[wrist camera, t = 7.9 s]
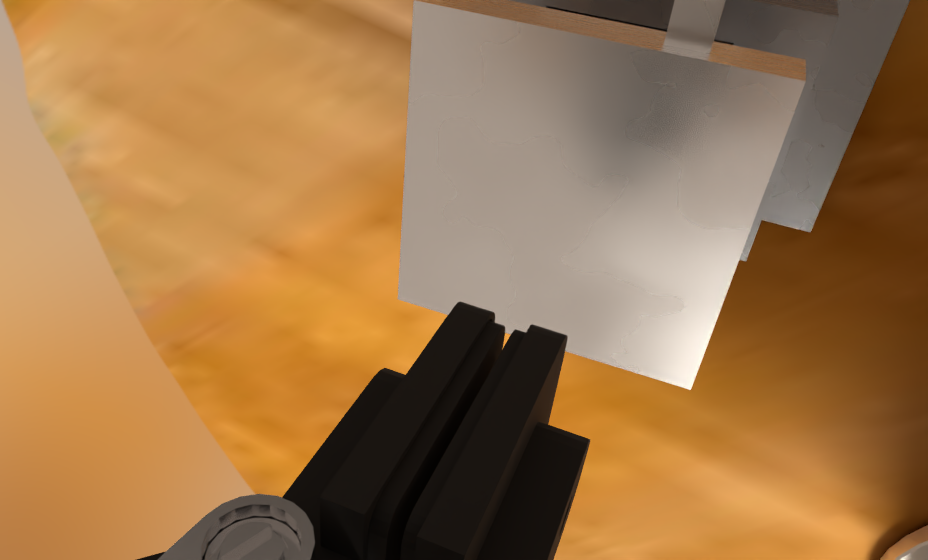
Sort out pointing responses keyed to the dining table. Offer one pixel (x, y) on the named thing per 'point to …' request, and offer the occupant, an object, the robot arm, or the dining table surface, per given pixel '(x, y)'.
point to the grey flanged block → (587, 172)
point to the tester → (825, 91)
